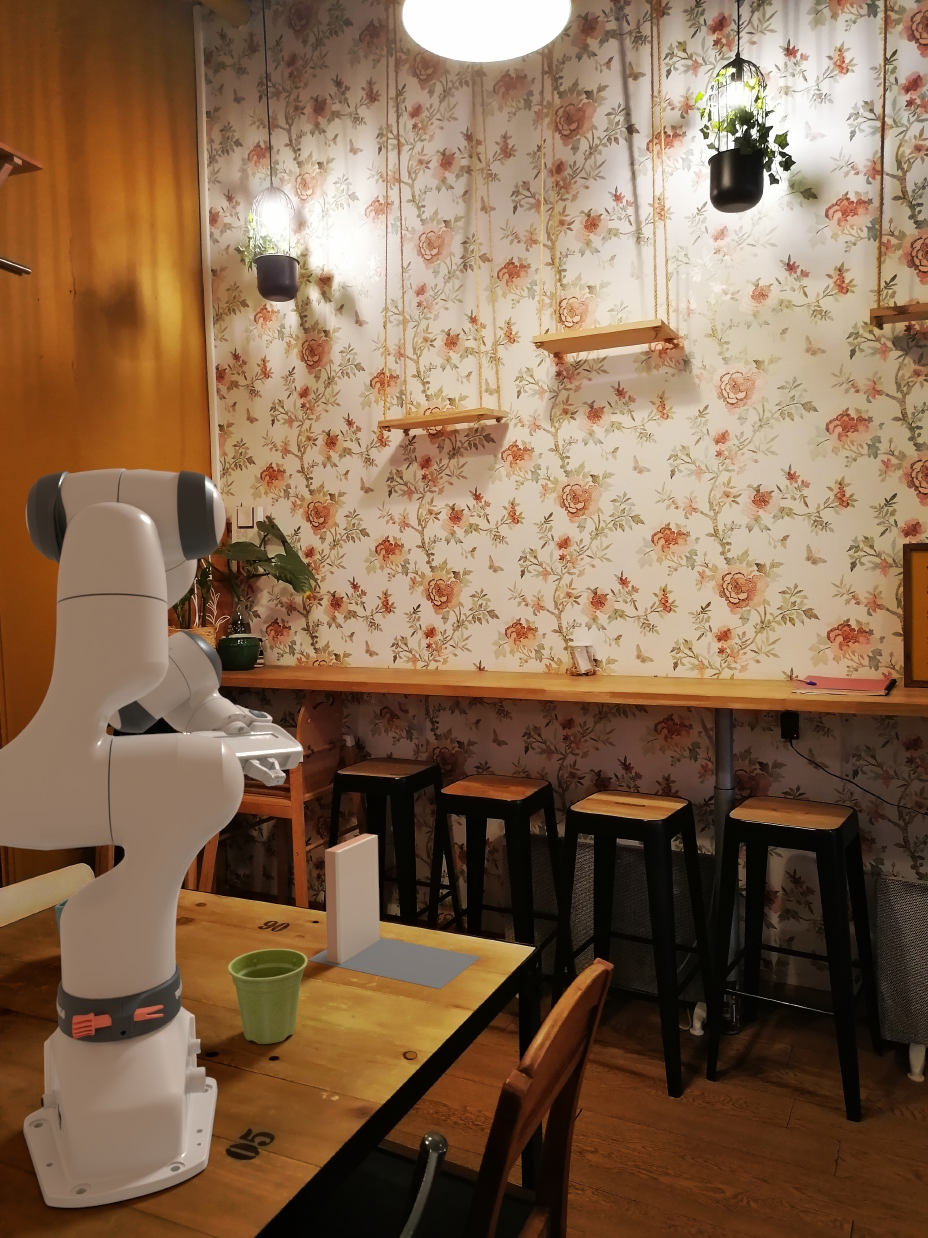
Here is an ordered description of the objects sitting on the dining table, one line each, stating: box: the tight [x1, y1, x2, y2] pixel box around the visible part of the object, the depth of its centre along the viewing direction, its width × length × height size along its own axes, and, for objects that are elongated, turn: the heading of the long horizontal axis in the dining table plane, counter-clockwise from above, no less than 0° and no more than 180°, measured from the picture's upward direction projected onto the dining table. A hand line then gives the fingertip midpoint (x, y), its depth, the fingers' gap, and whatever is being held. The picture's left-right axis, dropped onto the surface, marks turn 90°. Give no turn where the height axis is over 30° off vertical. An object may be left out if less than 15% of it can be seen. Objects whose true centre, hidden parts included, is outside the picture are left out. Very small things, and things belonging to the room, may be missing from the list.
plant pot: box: [227, 948, 308, 1045], centre depth 113 cm, size 9×9×9 cm
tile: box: [324, 833, 381, 964], centre depth 137 cm, size 2×10×16 cm, turn 152°
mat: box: [307, 936, 482, 990], centre depth 134 cm, size 22×12×1 cm, turn 62°
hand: (277, 781), depth 138 cm, fingers closed
